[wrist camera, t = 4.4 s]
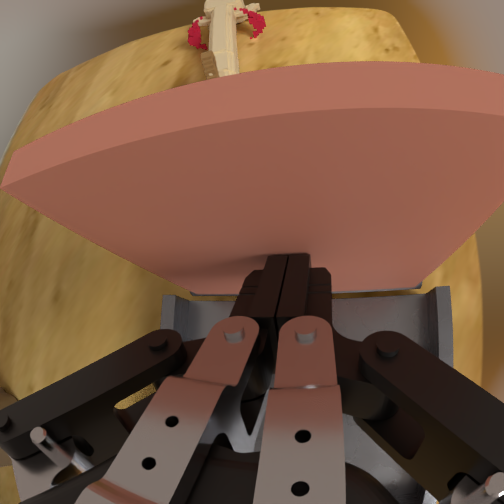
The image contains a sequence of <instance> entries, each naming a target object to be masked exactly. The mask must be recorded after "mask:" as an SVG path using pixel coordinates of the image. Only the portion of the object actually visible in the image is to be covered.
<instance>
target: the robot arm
mask: <svg viewBox="0 0 504 504" xmlns="http://www.w3.org/2000/svg"><path fill="white" fill-rule="evenodd" d="M272 374H275V381H274V388H270V384H271V379H272ZM151 383H153V385H154V387H155V389H156V392H154V393H153V394H151V395H149V396H148V397H146V398H144V399H142V400H140V401H139V402H137V403H135V404H133V405H132V406H130V407H128V408H126V409H117V408H115V407H114V406H115V405H116V404H117V403H118V402H119V401H121V400H123V399H125V398H126V397H128V396H130V395H132V394H134V393H135V392H137V391H139V390H141V389H143V388H144V387H146V386H148V385H150V384H151ZM265 410H266V414H265V422H264V430H263V437H262V445H261V451H258V452H254V445H255V440H256V437H257V434H258V431H259V428H260V425H261V422H262V419H263V416H264V413H265ZM342 413H343V414H347V415H350V416H352V417H353V420H354V422H355V423H356V424H357V425H358V426H359V427H360V428H361V429H362V430H363V431H364V432H365V433H366V434H367V435H368V436H369V437H370V438H371V439H372V440H373V441H374V442H375V443H376V444H377V445H378V446H379V447H380V448H381V449H382V450H384V451H385V452H386V453H387V454H388V455H389V456H390V457H391V458H392V459H393V460H394V461H395V462H396V463H397V464H398V465H399V466H400V467H401V468H403V469H404V470H405V471H406V472H407V473H408V474H409V475H410V476H411V477H412V478H413V479H414V480H415V481H417V482H418V483H419V484H420V485H421V486H422V487H423V488H424V489H425V490H426V491H428V492H429V493H430V494H431V495H432V496H433V497H434V498H435V499H437V500H438V501H439V504H504V403H502V402H501V401H500V400H498V399H497V398H495V397H494V396H492V395H491V394H490V393H488V392H487V391H485V390H484V389H483V388H481V387H480V386H478V385H477V384H475V383H474V382H473V381H471V380H470V379H468V378H467V377H465V376H464V375H462V374H461V373H459V372H458V371H457V370H455V369H454V368H452V367H451V366H449V365H448V364H446V363H445V362H443V361H442V360H440V359H439V358H438V357H436V356H435V355H433V354H432V353H430V352H429V351H427V350H426V349H424V348H423V347H421V346H420V345H418V344H417V343H415V342H414V341H413V340H411V339H410V338H408V337H407V336H405V335H403V334H401V333H399V332H395V331H378V332H375V333H372V334H370V335H368V336H367V337H366V338H365V339H364V340H363V341H362V342H361V341H356V340H352V339H348V338H346V337H344V336H342V335H340V334H339V333H338V332H337V331H336V330H335V328H334V327H333V324H332V283H331V274H330V272H329V271H328V270H327V269H326V268H325V267H315V268H311V256H310V254H300V255H290V256H289V255H278V256H268V257H267V260H266V263H265V266H264V269H263V270H253V271H252V272H251V273H250V274H249V275H248V276H247V277H246V278H245V280H244V282H243V285H242V288H241V289H240V292H239V295H238V297H237V299H236V301H235V304H234V306H233V309H232V311H231V313H230V316H229V318H225V319H223V320H221V321H219V322H218V323H216V324H215V325H214V326H213V327H212V329H211V330H210V332H209V334H208V335H207V337H206V338H202V339H196V340H191V341H185V342H183V340H182V338H181V335H180V334H179V333H178V332H177V331H175V330H172V329H160V330H156V331H153V332H151V333H149V334H147V335H145V336H143V337H141V338H139V339H137V340H135V341H134V342H132V343H130V344H128V345H126V346H124V347H122V348H120V349H119V350H117V351H115V352H113V353H111V354H109V355H107V356H105V357H103V358H101V359H100V360H98V361H96V362H94V363H92V364H90V365H88V366H86V367H84V368H82V369H80V370H78V371H76V372H75V373H73V374H71V375H69V376H67V377H65V378H63V379H61V380H59V381H57V382H55V383H53V384H51V385H49V386H47V387H45V388H43V389H41V390H39V391H37V392H35V393H33V394H31V395H29V396H27V397H25V398H23V399H21V400H19V401H17V400H16V398H15V397H14V396H12V395H11V394H8V393H6V392H5V391H4V389H3V388H2V387H0V467H3V466H10V465H13V470H14V475H15V479H16V484H17V488H18V492H19V496H20V500H21V502H20V503H19V504H400V503H399V502H398V501H397V500H396V499H395V498H394V497H393V496H392V494H391V493H390V492H389V491H388V490H387V489H386V488H385V487H384V486H383V485H382V484H381V483H380V482H379V481H378V480H377V479H376V478H375V477H373V476H372V475H371V474H370V473H368V472H366V471H365V470H363V469H361V468H359V467H357V466H355V465H353V464H350V463H347V462H345V453H344V433H343V418H342Z"/></svg>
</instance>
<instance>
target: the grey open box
mask: <svg viewBox="0 0 504 504" xmlns="http://www.w3.org/2000/svg"><path fill="white" fill-rule="evenodd" d="M234 304H235V301H189V300H186V299H184V298H181V297H179V296H176V295H163V300H162V313H161V326H160V329H172V330H175V331H177V332H178V333H179V334H180V335H181V338H182V340H183V342H185V341H191V340H196V339H202V338H206V337H207V335H208V334H209V332H210V330H211V329H212V327H213V326H214V325H215V324H216V323H218V322H219V321H221V320H223V319H225V318H229V316H230V313H231V311H232V309H233V306H234ZM332 324H333V327H334V328H335V330H336V331H337V332H338V333H339V334H340V335H342V336H344V337H346V338H348V339H352V340H356V341H361V342H362V341H363V340H364V339H365V338H366V337H367V336H368V335H370V334H372V333H375V332H378V331H395V332H399V333H401V334H403V335H405V336H407V337H408V338H410V339H411V340H413V341H414V342H415V343H417V344H418V345H420V346H421V347H423V348H424V349H426V350H427V351H429V352H430V353H432V354H433V355H435V356H436V357H438V358H439V359H440V360H442V361H443V362H445V363H446V364H448V365H449V366H451V367H452V368H453V327H452V309H451V296H450V286H441V287H435V288H433V289H432V290H431V291H429V292H428V293H426V294H414V295H400V296H384V297H366V298H345V299H332ZM274 381H275V374H272V379H271V384H270V388H274ZM265 414H266V410H265V413H264V416H263V419H262V422H261V425H260V428H259V431H258V434H257V437H256V440H255V445H254V452H258V451H261V445H262V437H263V430H264V422H265ZM342 418H343V433H344V453H345V462H347V463H350V464H353V465H355V466H357V467H359V468H361V469H363V470H365V471H366V472H368V473H370V474H371V475H372V476H373V477H375V478H376V479H377V480H378V481H379V482H380V483H381V484H382V485H383V486H384V487H385V488H386V489H387V490H388V491H389V492H390V493H391V494H392V496H393V497H394V498H395V499H396V500H397V501H398V502H399V503H400V504H436V501H437V499H435V498H434V497H433V496H432V495H431V494H430V493H429V492H428V491H426V490H425V489H424V488H423V487H422V486H421V485H420V484H419V483H418V482H417V481H415V480H414V479H413V478H412V477H411V476H410V475H409V474H408V473H407V472H406V471H405V470H404V469H403V468H401V467H400V466H399V465H398V464H397V463H396V462H395V461H394V460H393V459H392V458H391V457H390V456H389V455H388V454H387V453H386V452H385V451H384V450H382V449H381V448H380V447H379V446H378V445H377V444H376V443H375V442H374V441H373V440H372V439H371V438H370V437H369V436H368V435H367V434H366V433H365V432H364V431H363V430H362V429H361V428H360V427H359V426H358V425H357V424H356V423H355V422H354V420H353V417H352V416H350V415H347V414H343V413H342Z"/></svg>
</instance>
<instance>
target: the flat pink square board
mask: <svg viewBox="0 0 504 504" xmlns="http://www.w3.org/2000/svg"><path fill="white" fill-rule="evenodd" d="M0 189H2V190H3V191H5V192H7V193H8V194H10V195H11V196H13V197H15V198H16V199H18V200H20V201H21V202H23V203H25V204H26V205H28V206H30V207H31V208H33V209H35V210H37V211H38V212H40V213H42V214H43V215H45V216H47V217H49V218H50V219H52V220H54V221H56V222H57V223H59V224H61V225H63V226H64V227H66V228H68V229H70V230H72V231H73V232H75V233H77V234H79V235H81V236H83V237H84V238H86V239H88V240H90V241H92V242H94V243H95V244H97V245H99V246H101V247H103V248H105V249H107V250H109V251H111V252H112V253H114V254H116V255H118V256H120V257H122V258H124V259H126V260H128V261H130V262H132V263H134V264H136V265H138V266H140V267H142V268H144V269H146V270H148V271H150V272H152V273H154V274H156V275H158V276H160V277H162V278H164V279H166V280H168V281H170V282H172V283H174V284H176V285H178V286H181V287H183V288H185V289H187V290H189V291H190V293H191V294H192V295H193V296H238V295H239V292H240V289H241V288H242V285H243V282H244V280H245V278H246V277H247V276H248V275H249V274H250V273H251V272H252V271H253V270H263V269H264V266H265V263H266V260H267V257H268V256H278V255H289V256H290V255H300V254H310V256H311V268H315V267H325V268H326V269H327V270H328V271H329V272H330V274H331V283H332V293H353V292H373V291H390V290H406V289H420V288H421V286H422V281H423V280H424V279H425V278H426V277H427V276H428V275H429V274H431V273H432V272H433V271H434V270H435V269H436V268H437V267H438V266H440V265H441V264H442V263H443V262H444V261H445V260H446V259H447V258H448V257H449V256H451V255H452V254H453V253H454V252H455V251H456V250H457V249H458V248H459V247H460V246H461V245H462V244H463V243H464V242H465V241H466V240H467V239H468V238H469V237H470V236H471V235H472V234H473V233H474V232H475V231H476V230H477V229H478V228H479V227H480V226H481V225H482V224H483V223H484V222H485V221H486V220H487V219H488V218H489V217H490V216H491V215H492V214H493V213H494V212H495V210H496V209H497V208H498V207H499V206H500V205H501V204H502V203H503V202H504V75H503V74H498V73H493V72H488V71H482V70H475V69H470V68H463V67H455V66H447V65H437V64H426V63H411V62H384V61H360V62H333V63H317V64H305V65H295V66H286V67H278V68H270V69H263V70H257V71H251V72H245V73H239V74H233V75H228V76H223V77H218V78H213V79H209V80H204V81H200V82H196V83H192V84H188V85H184V86H180V87H176V88H172V89H169V90H165V91H161V92H158V93H155V94H151V95H148V96H145V97H142V98H138V99H135V100H132V101H129V102H126V103H123V104H120V105H118V106H115V107H112V108H109V109H107V110H104V111H101V112H99V113H96V114H93V115H91V116H88V117H86V118H83V119H81V120H79V121H76V122H74V123H72V124H69V125H67V126H65V127H62V128H60V129H58V130H56V131H54V132H52V133H49V134H47V135H45V136H43V137H41V138H39V139H37V140H35V141H33V142H31V143H29V144H27V145H25V146H23V147H21V148H20V149H18V150H16V151H14V153H13V155H12V158H11V160H10V162H9V165H8V167H7V170H6V173H5V175H4V178H3V181H2V183H1V186H0Z"/></svg>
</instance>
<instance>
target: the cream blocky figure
mask: <svg viewBox="0 0 504 504" xmlns="http://www.w3.org/2000/svg"><path fill="white" fill-rule="evenodd" d="M256 10H260V6H259V3H257V4H254V3H252V4H250V5H247V6H246V9H245V5H244V3H243V0H206V2H205V5H204V12H205V14H206V16H207V18H208V20H207V18H206V16H204V17H202V16H201V17H198V18H197V19H194V20H193V22H194V23H192V25H193V26H192V27H191V28H189V30H188V33H189V36H188V42H189V44H190V46H191V45H193V46H196V48H197V49H198V48H202V49H204V48H205V50H207V46H206V44H202V45H201V44H200V43H201V38H200V37H201V34H200V32H201V30H200V27H199V26H206V25H208V30H210V33H209V51H206V52H203V53H201V61H202V65H203V69H204V73H205V75H206V79H207V80H209V79H213V78H218V77H223V76H228V75H233V74H239V60H238V54H237V40H236V33H237V32H236V24H237V23H241V22H243V21H245V19H248V20H249V23H250V24H253V27H254V29H257V31H253V35H254V38H256V37H257V35H259V34H258V33H263V31H262V29H264V27H266V24H265V20H264V17H263V16H261V15H260V14H257V12H256ZM255 12H256V13H255ZM250 39H252V37H250Z"/></svg>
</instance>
